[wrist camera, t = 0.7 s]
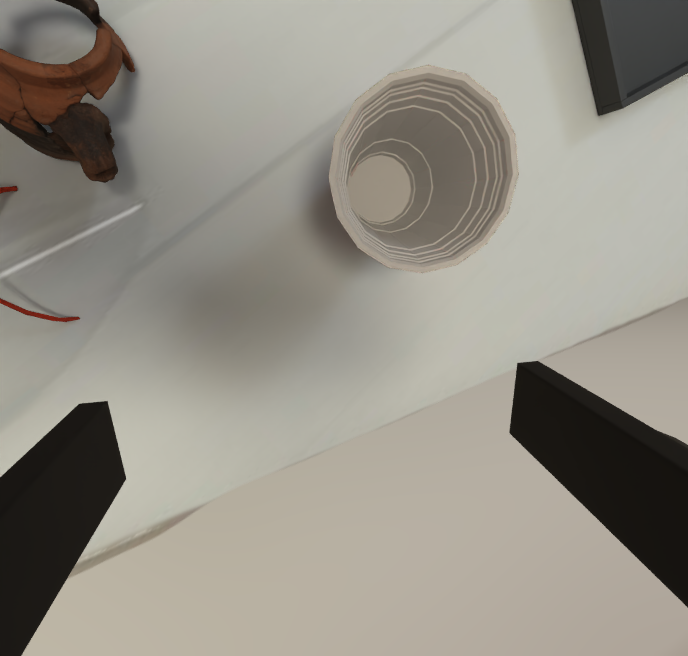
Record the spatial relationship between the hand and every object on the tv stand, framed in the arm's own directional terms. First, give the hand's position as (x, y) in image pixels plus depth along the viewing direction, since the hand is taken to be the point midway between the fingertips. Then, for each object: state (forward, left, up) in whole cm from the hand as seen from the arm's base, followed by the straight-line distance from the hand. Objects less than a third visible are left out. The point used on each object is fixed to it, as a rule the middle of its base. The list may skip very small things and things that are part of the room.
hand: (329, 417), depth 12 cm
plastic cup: (-4, +10, -23) cm, 25 cm away
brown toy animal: (-19, -7, -23) cm, 31 cm away
